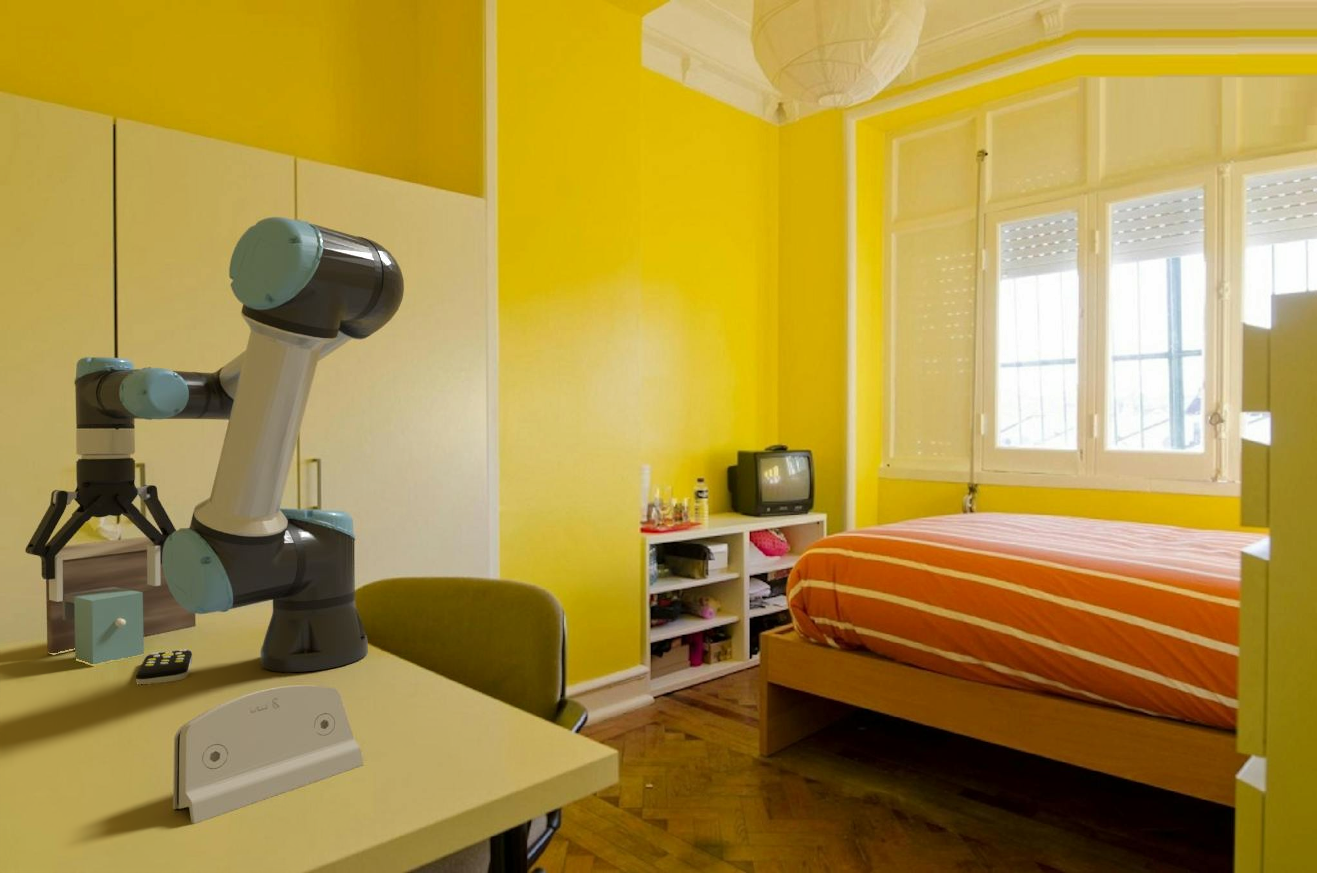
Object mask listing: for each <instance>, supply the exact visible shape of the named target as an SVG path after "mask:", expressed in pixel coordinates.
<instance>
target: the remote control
mask: <svg viewBox="0 0 1317 873" xmlns="http://www.w3.org/2000/svg"><path fill="white" fill-rule="evenodd" d="M192 661H193V653H192V651H191V650H188V649H185V648H183V649H182V648H181V649H179V650H172V651H163V652H157V651H156V652H152V653H150V654H148V655H146V656H145V658H144V660H143V662H142V664H141V666H140V668H139V669H138V671H137V674H136V675H135V684H136V683H138V684H148V685H152V684H151V683H155V684H161V682H163V683H169V682H176V681H180V680H184V679H186V678H187V677H188V675H189V671H190V667H191V665H192ZM138 684H137V685H138Z"/></svg>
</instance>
